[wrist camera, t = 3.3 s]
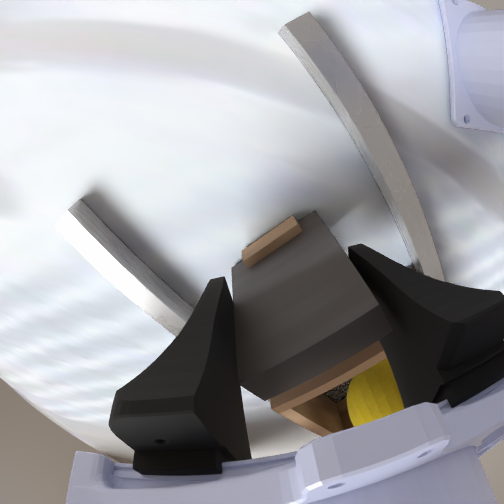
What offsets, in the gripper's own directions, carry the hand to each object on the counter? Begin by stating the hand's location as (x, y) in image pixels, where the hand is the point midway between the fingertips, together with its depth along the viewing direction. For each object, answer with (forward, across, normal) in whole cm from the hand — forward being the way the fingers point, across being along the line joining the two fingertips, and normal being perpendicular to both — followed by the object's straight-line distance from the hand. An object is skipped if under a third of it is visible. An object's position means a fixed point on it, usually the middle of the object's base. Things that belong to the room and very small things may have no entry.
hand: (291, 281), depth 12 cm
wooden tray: (+3, -3, +7) cm, 8 cm away
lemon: (+3, -5, +12) cm, 13 cm away
